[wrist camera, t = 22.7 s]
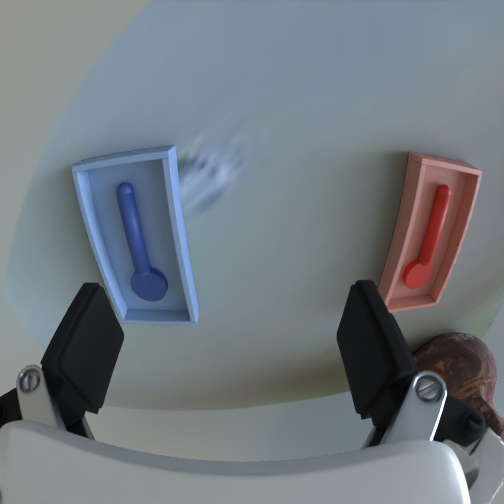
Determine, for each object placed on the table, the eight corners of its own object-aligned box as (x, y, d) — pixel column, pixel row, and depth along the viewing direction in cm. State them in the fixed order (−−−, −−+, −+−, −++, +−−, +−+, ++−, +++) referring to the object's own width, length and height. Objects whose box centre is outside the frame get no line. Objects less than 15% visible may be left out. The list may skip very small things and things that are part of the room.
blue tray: (83, 159, 20) (70, 166, 18) (175, 145, 20) (168, 150, 18) (126, 309, 30) (121, 323, 28) (199, 311, 30) (197, 325, 28)
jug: (481, 334, 39) (528, 424, 18) (411, 392, 48) (440, 480, 27) (453, 299, 32) (527, 433, 11) (358, 378, 41) (391, 506, 20)
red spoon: (427, 180, 22) (436, 185, 20) (453, 183, 22) (462, 189, 20) (398, 285, 29) (403, 294, 27) (423, 283, 29) (428, 291, 27)
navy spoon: (107, 182, 21) (99, 188, 20) (147, 177, 21) (141, 183, 20) (138, 296, 28) (134, 305, 27) (171, 296, 28) (168, 306, 27)
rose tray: (408, 151, 21) (422, 157, 19) (469, 164, 21) (482, 171, 19) (373, 301, 30) (379, 314, 29) (428, 294, 31) (436, 305, 29)
